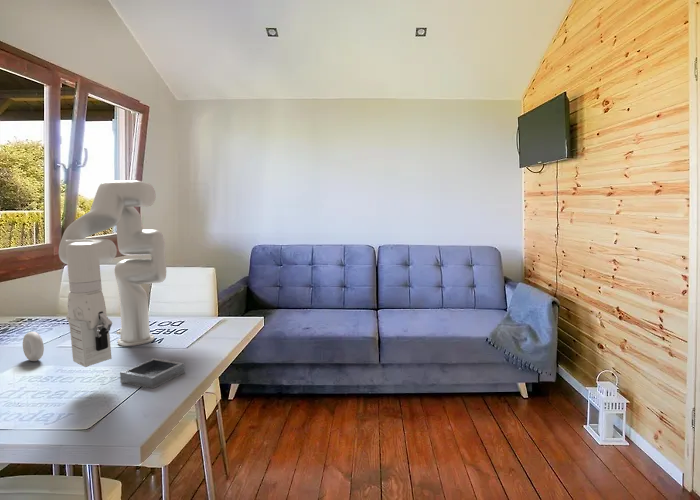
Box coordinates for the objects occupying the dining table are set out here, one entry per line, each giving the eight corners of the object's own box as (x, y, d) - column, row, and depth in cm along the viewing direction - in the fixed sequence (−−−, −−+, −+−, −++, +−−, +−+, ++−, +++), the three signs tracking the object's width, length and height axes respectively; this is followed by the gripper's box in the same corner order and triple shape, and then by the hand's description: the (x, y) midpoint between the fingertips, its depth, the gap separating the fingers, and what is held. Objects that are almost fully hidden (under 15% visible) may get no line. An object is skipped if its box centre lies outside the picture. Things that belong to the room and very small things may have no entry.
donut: (47, 362, 142) (44, 332, 141) (35, 365, 139) (32, 335, 138) (33, 356, 147) (31, 328, 146) (22, 359, 144) (19, 330, 143)
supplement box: (99, 353, 126) (96, 312, 124) (112, 359, 122) (108, 316, 120) (72, 361, 120) (68, 318, 118) (84, 367, 116) (80, 323, 114)
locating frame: (120, 382, 125) (120, 372, 124) (154, 367, 136) (153, 358, 136) (152, 388, 120) (152, 378, 120) (184, 372, 132) (184, 363, 131)
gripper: (51, 287, 118) (57, 347, 120) (95, 292, 111) (101, 356, 114) (77, 281, 125) (82, 339, 127) (120, 286, 118) (125, 346, 121)
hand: (91, 346), depth 120 cm, fingers closed on supplement box, 8 cm apart
